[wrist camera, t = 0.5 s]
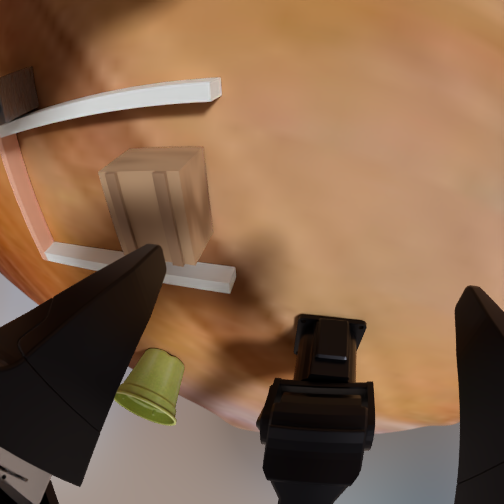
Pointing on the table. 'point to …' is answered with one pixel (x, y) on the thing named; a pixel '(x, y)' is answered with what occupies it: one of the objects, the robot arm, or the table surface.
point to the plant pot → (153, 387)
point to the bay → (164, 93)
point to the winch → (17, 94)
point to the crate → (160, 201)
